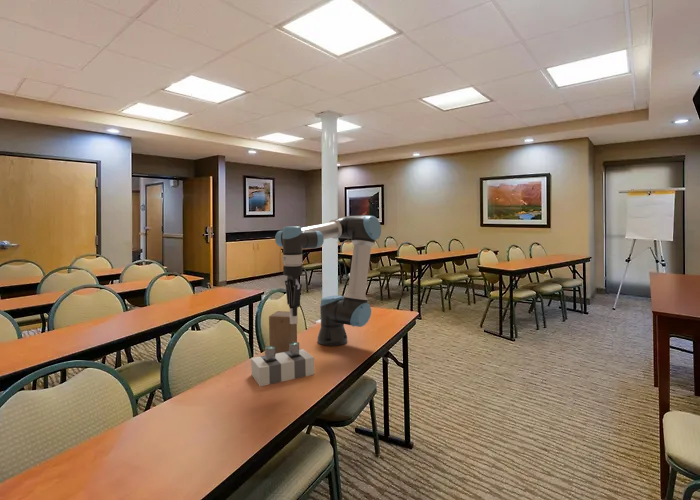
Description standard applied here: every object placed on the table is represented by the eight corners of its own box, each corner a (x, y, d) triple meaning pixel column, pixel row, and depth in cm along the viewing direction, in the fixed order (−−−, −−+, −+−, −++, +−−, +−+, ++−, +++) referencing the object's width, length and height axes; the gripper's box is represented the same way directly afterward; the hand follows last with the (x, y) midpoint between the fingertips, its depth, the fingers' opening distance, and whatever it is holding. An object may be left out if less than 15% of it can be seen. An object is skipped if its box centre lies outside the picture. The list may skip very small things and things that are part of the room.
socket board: (302, 364, 164) (302, 348, 164) (314, 374, 154) (313, 357, 153) (251, 375, 154) (251, 357, 153) (259, 386, 143) (259, 368, 143)
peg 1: (273, 362, 154) (273, 345, 153) (277, 365, 150) (276, 348, 149) (263, 364, 152) (263, 346, 151) (266, 367, 148) (266, 349, 148)
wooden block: (290, 361, 168) (289, 316, 166) (268, 360, 170) (267, 315, 168) (298, 353, 177) (297, 311, 176) (277, 352, 179) (276, 310, 178)
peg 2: (297, 357, 158) (297, 341, 158) (300, 361, 155) (300, 343, 154) (288, 359, 156) (287, 342, 156) (291, 362, 153) (291, 345, 152)
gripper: (278, 264, 156) (279, 320, 158) (289, 267, 145) (290, 328, 147) (295, 263, 160) (296, 318, 162) (307, 266, 149) (308, 326, 150)
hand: (293, 323), depth 154 cm, fingers closed
